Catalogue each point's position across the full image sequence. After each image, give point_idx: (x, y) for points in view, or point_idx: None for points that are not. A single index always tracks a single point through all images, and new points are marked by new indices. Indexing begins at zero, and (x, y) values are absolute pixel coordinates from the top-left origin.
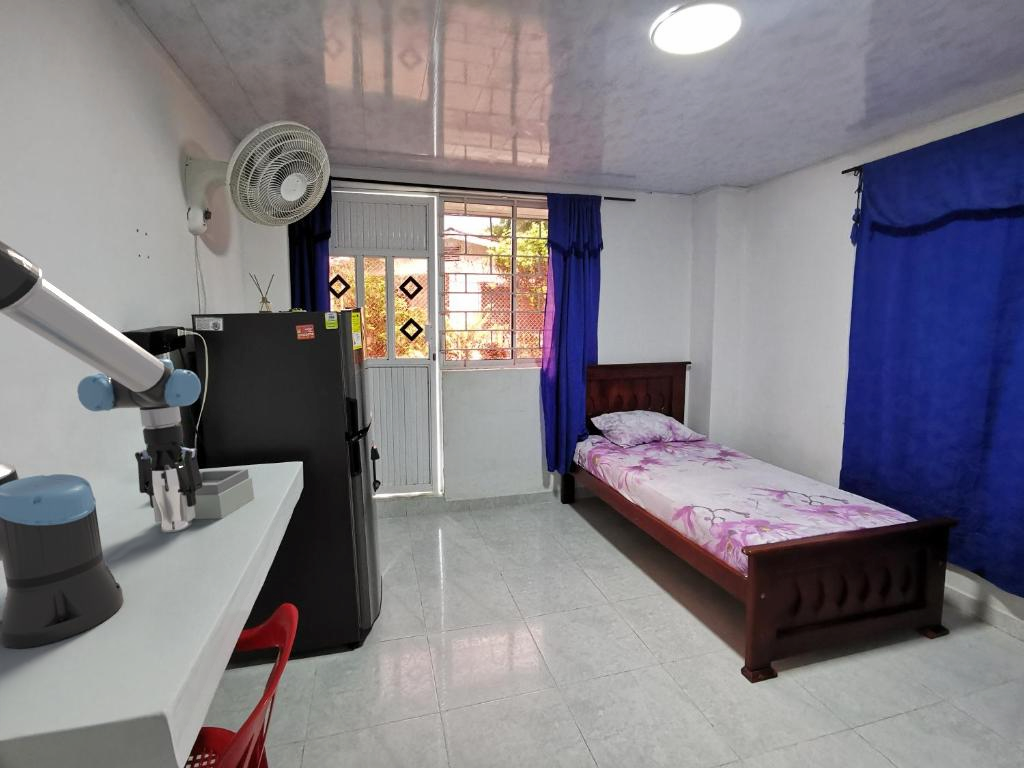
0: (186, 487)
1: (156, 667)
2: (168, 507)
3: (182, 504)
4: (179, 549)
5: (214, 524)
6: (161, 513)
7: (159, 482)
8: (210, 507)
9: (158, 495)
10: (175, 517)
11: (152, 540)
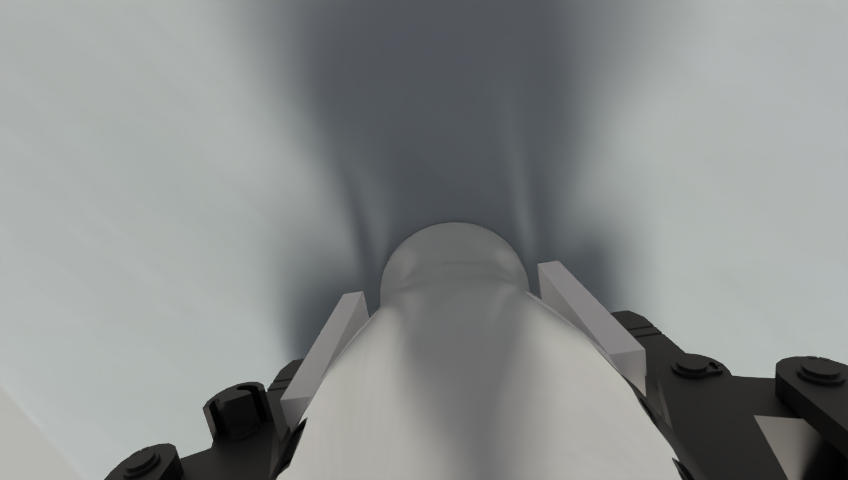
0: (207, 471)
1: None
2: (410, 283)
3: (332, 345)
4: (146, 33)
5: (268, 350)
6: (492, 267)
7: (428, 403)
8: None
9: (472, 297)
10: (396, 278)
11: (438, 121)
